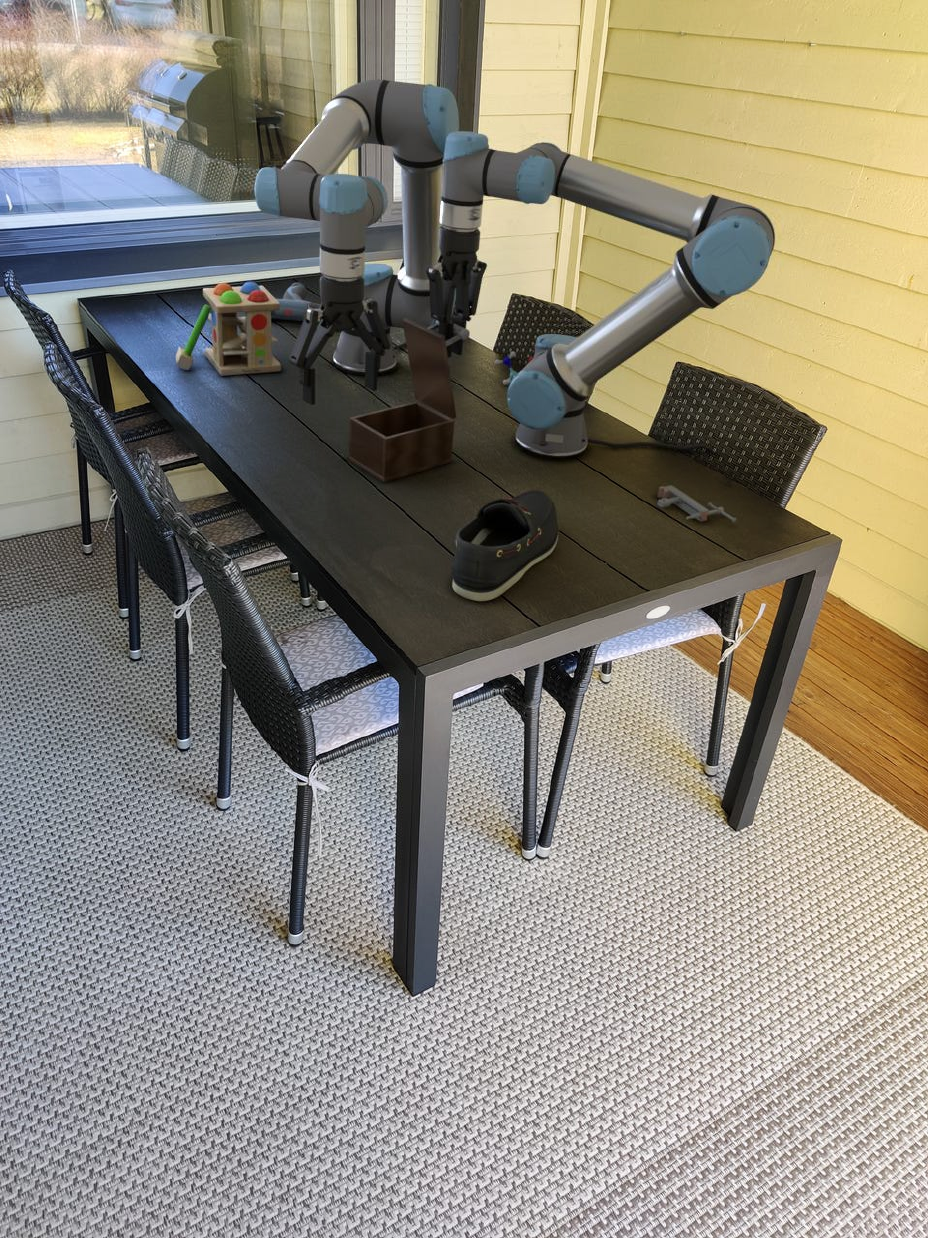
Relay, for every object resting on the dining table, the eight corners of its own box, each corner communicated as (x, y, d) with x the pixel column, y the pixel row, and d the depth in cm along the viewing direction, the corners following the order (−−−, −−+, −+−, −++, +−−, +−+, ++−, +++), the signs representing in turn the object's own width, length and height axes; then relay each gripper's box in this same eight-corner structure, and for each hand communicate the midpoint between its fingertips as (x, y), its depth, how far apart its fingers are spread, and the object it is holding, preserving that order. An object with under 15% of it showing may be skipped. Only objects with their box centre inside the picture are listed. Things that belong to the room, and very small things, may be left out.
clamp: (647, 488, 189) (686, 480, 193) (645, 499, 190) (684, 490, 195) (698, 524, 178) (739, 515, 183) (696, 535, 180) (736, 525, 184)
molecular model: (539, 386, 226) (526, 343, 224) (502, 400, 229) (488, 358, 228) (551, 385, 236) (539, 344, 235) (515, 398, 240) (503, 358, 238)
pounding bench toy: (183, 379, 220) (176, 299, 210) (169, 357, 231) (162, 280, 221) (282, 371, 230) (280, 294, 220) (264, 350, 240) (262, 276, 230)
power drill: (344, 304, 276) (335, 327, 259) (277, 298, 275) (264, 321, 258) (344, 285, 273) (335, 306, 256) (277, 279, 272) (264, 300, 255)
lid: (440, 337, 179) (474, 319, 183) (401, 319, 186) (434, 302, 190) (453, 419, 191) (484, 401, 195) (415, 399, 198) (446, 382, 202)
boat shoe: (583, 534, 177) (590, 481, 172) (488, 608, 153) (493, 549, 148) (521, 514, 183) (526, 462, 178) (421, 583, 159) (423, 525, 154)
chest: (384, 482, 187) (385, 439, 182) (348, 459, 194) (349, 417, 189) (451, 462, 197) (454, 420, 192) (415, 441, 204) (417, 400, 199)
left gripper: (291, 290, 156) (293, 415, 168) (413, 272, 171) (407, 389, 183) (266, 277, 161) (269, 401, 172) (387, 261, 175) (382, 376, 187)
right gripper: (441, 235, 171) (433, 366, 184) (504, 227, 180) (492, 353, 193) (414, 225, 175) (408, 354, 189) (477, 218, 184) (466, 341, 197)
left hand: (340, 395), depth 177 cm, fingers open, 13 cm apart
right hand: (450, 353), depth 191 cm, fingers closed on lid, 2 cm apart
